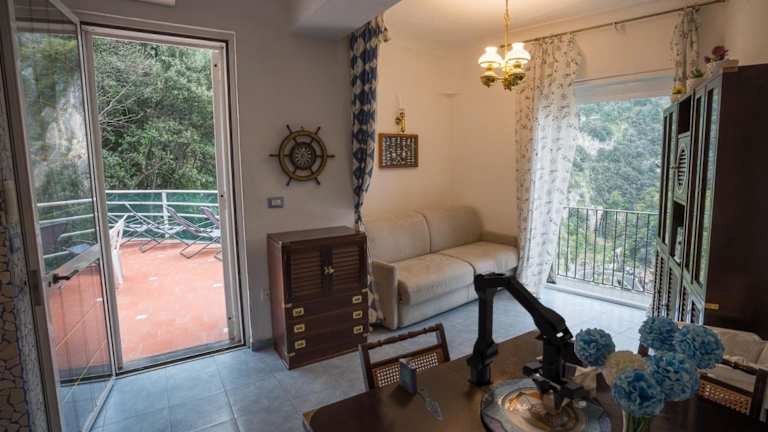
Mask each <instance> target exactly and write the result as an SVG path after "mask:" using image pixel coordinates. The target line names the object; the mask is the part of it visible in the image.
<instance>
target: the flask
mask: <svg viewBox="0 0 768 432" xmlns="http://www.w3.org/2000/svg"><path fill="white" fill-rule="evenodd" d="M411 358H412V357H407V358H399V359H398V367H399V371H398V372H399V385H400V386H401V387H403V388H404V389H405V390H407V391H409V393H411V394H412V395H415V394H419V393H418V390H417V389H418V376H417V366H416V365H415V364H414V363H412V361H411V360H410V359H411Z"/></svg>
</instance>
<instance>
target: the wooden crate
mask: <svg viewBox="0 0 768 432" xmlns="http://www.w3.org/2000/svg"><path fill="white" fill-rule="evenodd" d="M541 358H542V355H541V356H538V357H535V358H534V362H537V363H539V359H541ZM539 364H541V363H539ZM541 365H542V364H541ZM575 366H576V365H575ZM596 370H598V368H596V367H590V366H589V367H588V368H586V369H585V368H582V367H579V366H577V370H576V374H575V377H573V376H568V378H566V379H565V378H563V381H568V382H570V381H575V382H577V383H579V384H581V385H583V386H584V387H585V389H586V395H585V396H583V397H584V398H586V399H588V400H592V399H594V398H596V397H597V374H596ZM549 385H552V387H555V388H556V389H557V388H558V386H557V385H555V384H553V383H551V382H550V384H549Z"/></svg>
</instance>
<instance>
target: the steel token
mask: <svg viewBox="0 0 768 432" xmlns="http://www.w3.org/2000/svg"><path fill="white" fill-rule="evenodd" d="M572 403H573V405H575V406H577V407H581V408H580V409H583V408H582V407H585V406H586V407H587V401H586V399H584V398H582V397H580V398H578V399H575V400H571V404H572ZM573 405H572V406H573ZM577 407H576V408H577Z"/></svg>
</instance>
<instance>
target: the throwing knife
mask: <svg viewBox="0 0 768 432" xmlns="http://www.w3.org/2000/svg"><path fill="white" fill-rule="evenodd" d="M417 390H418V393H417V394H419V395H421V397H422V398H423V399H424V401H425V403H424V404H423V405H424V407H425V408H426V409H427V410H428V411H429V412H430V413H431V414H432V415H433V416H435V417H436V418H437V419H438V420H439V421H441V422H443V416H442V413H441V409H440V406H439V404H438V403H437V401H434V399H432V398H431V397H430V395H429V394H428V390H427V388H426V387H417Z"/></svg>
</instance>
